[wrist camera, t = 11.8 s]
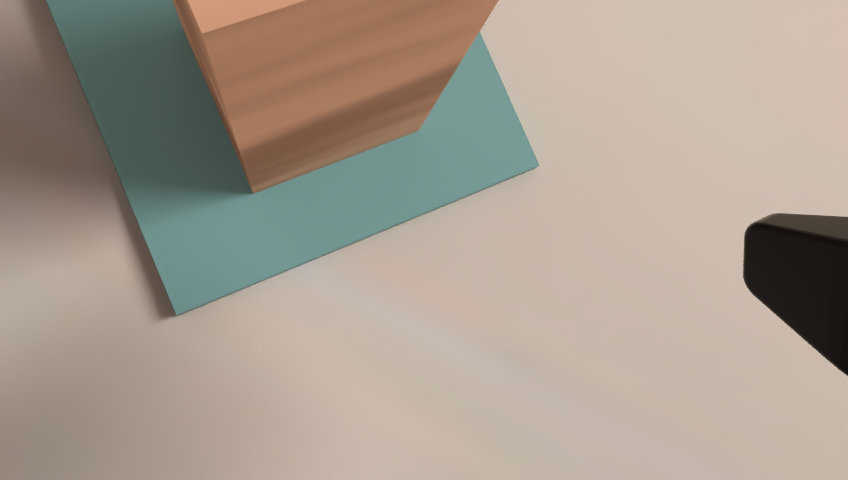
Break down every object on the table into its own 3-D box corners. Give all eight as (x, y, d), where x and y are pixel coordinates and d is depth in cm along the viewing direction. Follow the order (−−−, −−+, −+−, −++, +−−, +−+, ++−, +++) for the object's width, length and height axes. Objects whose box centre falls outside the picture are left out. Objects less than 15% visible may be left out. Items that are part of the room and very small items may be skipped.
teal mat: (534, 168, 20) (539, 165, 20) (178, 315, 18) (176, 314, 17) (408, -114, 21) (410, -122, 20) (44, -9, 18) (38, -16, 18)
